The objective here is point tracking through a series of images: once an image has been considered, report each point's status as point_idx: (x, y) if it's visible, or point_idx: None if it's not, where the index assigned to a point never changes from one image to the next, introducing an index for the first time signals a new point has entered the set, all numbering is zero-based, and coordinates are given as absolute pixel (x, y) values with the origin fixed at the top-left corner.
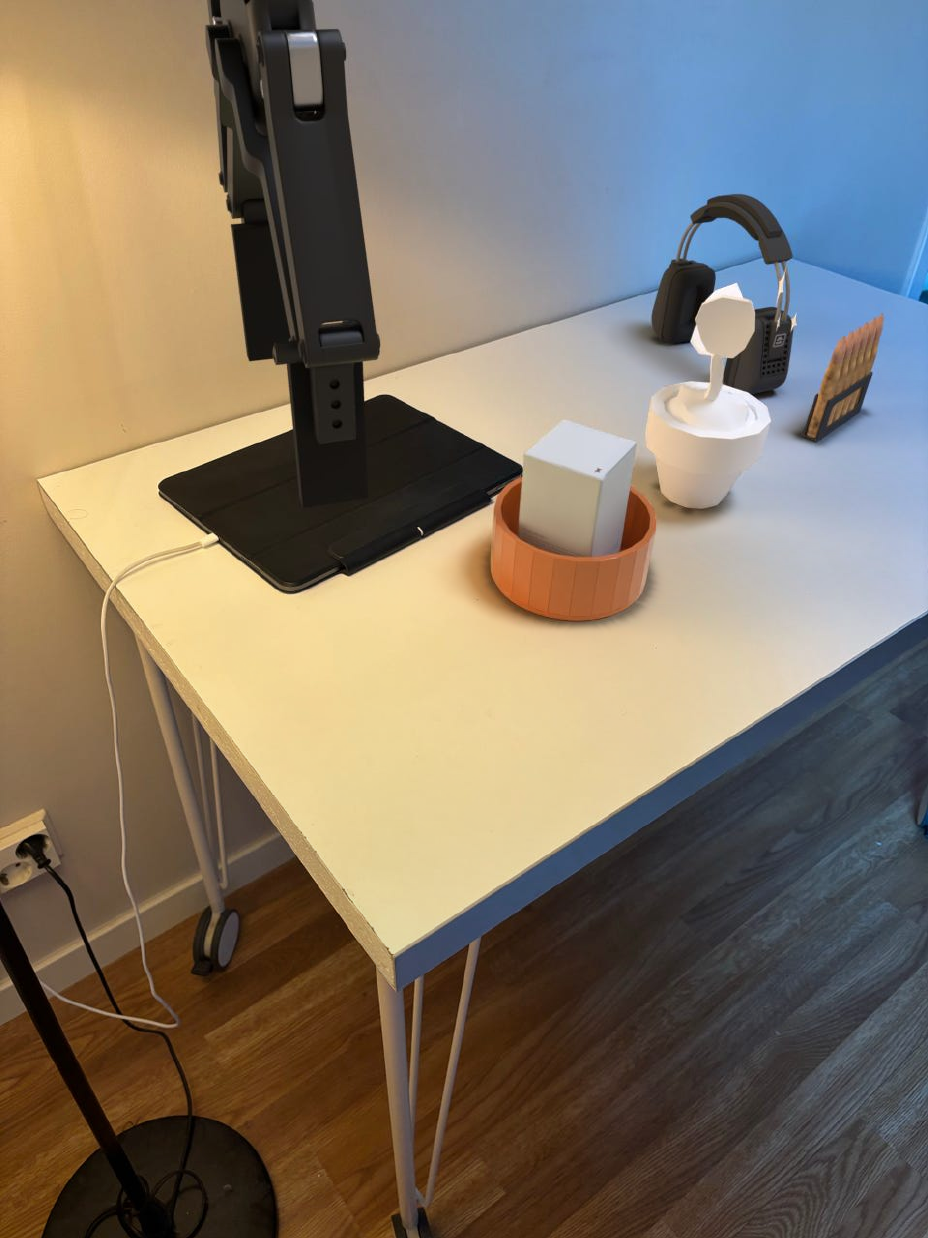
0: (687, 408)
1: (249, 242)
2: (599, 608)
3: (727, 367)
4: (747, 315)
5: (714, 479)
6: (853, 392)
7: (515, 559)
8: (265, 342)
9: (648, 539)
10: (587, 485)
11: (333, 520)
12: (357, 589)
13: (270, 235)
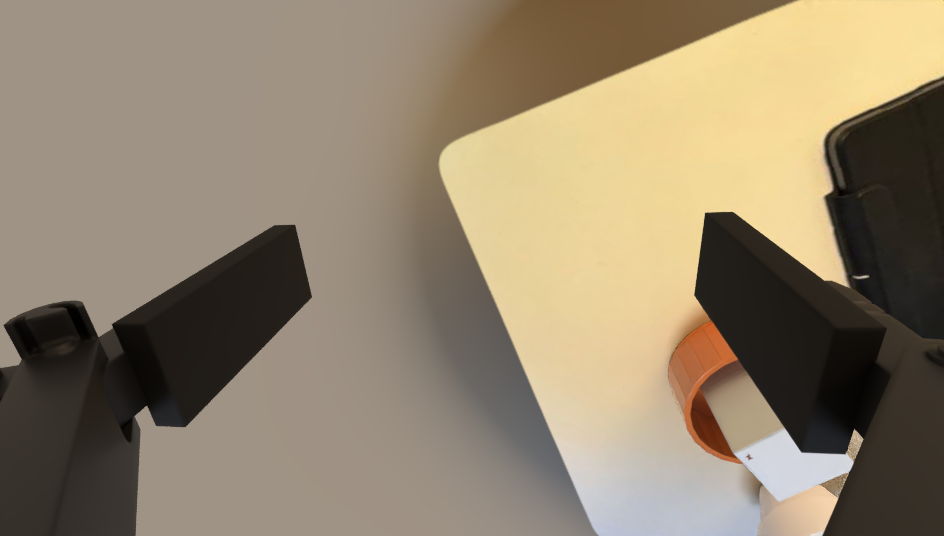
0: None
1: (806, 341)
2: (671, 374)
3: None
4: None
5: (764, 515)
6: None
7: None
8: (711, 253)
9: (696, 442)
10: (741, 439)
11: (932, 199)
12: (799, 200)
13: (801, 394)
